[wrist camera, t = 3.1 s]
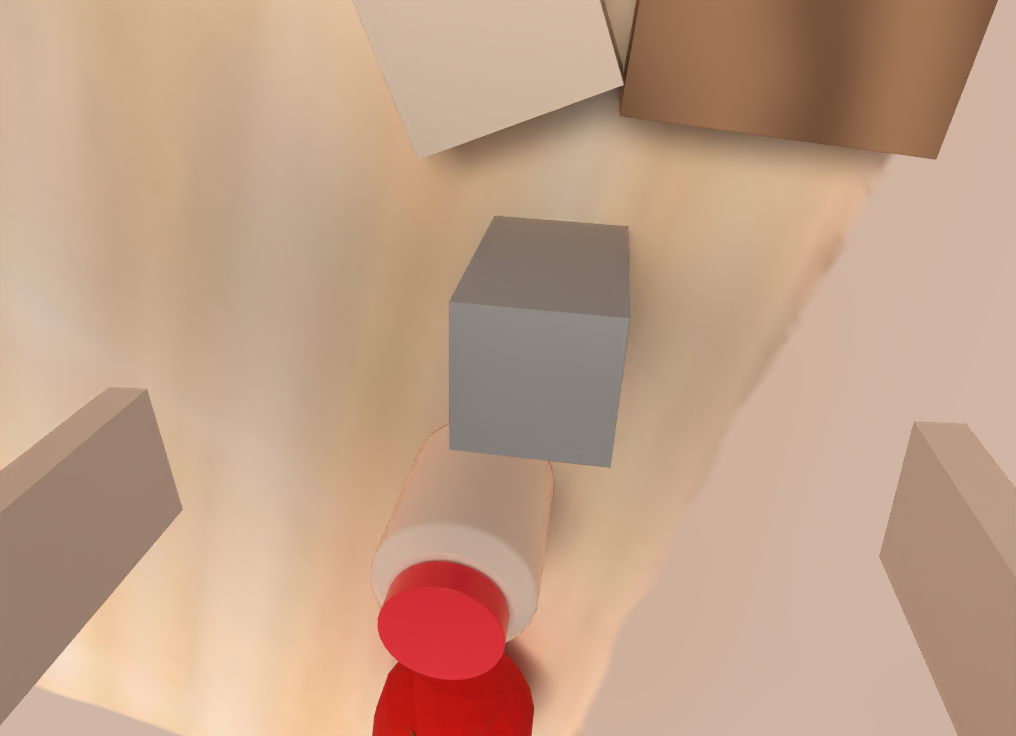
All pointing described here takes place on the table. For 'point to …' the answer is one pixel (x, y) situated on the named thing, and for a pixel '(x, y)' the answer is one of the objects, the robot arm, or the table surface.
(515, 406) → the slate block
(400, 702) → the tomato
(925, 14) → the walnut block
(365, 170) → the table surface
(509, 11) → the grey block
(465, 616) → the pill bottle
